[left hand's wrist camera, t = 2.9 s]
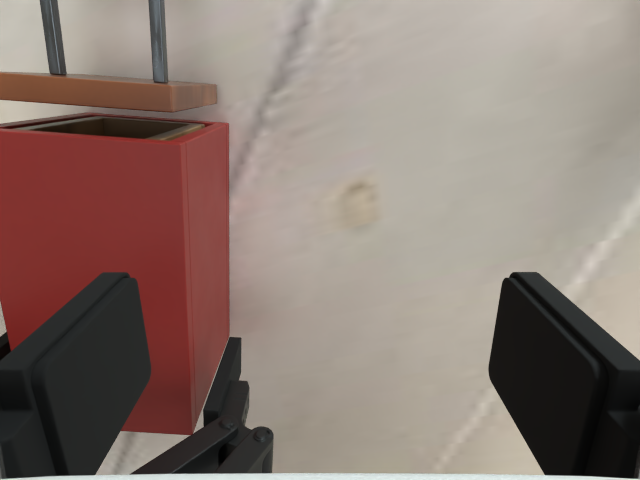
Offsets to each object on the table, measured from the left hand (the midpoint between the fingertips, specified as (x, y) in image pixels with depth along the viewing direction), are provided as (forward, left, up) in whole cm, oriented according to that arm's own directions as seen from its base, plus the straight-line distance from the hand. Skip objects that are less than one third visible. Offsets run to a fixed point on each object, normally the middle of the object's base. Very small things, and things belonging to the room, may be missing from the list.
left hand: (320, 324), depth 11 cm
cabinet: (+7, -11, -21) cm, 25 cm away
